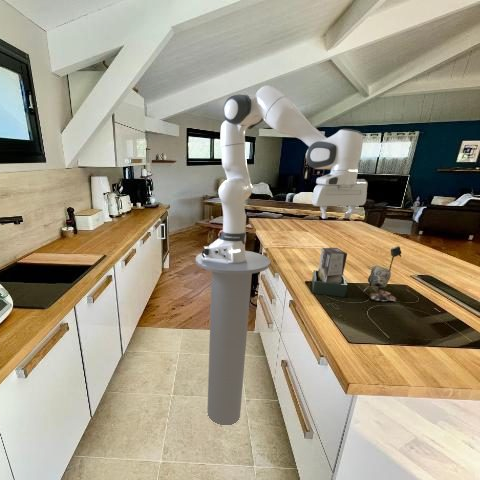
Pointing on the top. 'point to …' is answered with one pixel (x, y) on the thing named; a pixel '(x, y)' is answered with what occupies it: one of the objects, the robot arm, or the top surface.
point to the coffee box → (331, 265)
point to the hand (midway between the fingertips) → (336, 218)
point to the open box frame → (328, 286)
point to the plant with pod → (382, 279)
